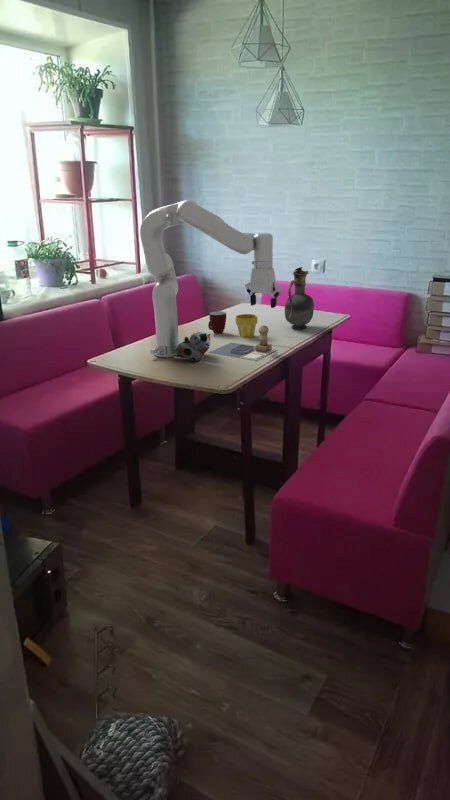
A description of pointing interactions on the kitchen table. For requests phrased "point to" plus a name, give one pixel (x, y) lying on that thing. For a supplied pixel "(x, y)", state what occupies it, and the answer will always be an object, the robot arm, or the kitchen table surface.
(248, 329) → the plant pot
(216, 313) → the mug
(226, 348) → the desk mat
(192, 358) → the lucky cat figurine
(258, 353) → the paper sheet
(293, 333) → the kitchen table surface
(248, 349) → the ink pad
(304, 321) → the pitcher
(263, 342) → the stamp
